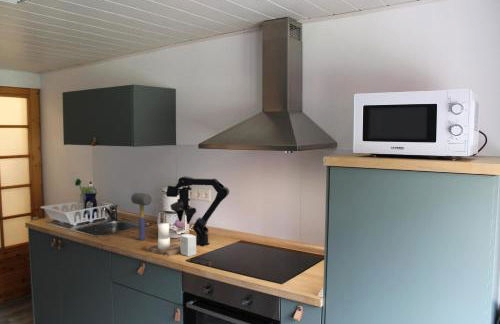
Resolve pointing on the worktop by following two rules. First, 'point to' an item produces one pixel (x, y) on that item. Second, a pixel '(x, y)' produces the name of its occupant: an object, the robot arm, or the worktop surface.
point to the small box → (188, 245)
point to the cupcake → (179, 223)
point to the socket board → (173, 250)
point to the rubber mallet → (141, 210)
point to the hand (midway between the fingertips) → (184, 222)
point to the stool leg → (163, 236)
